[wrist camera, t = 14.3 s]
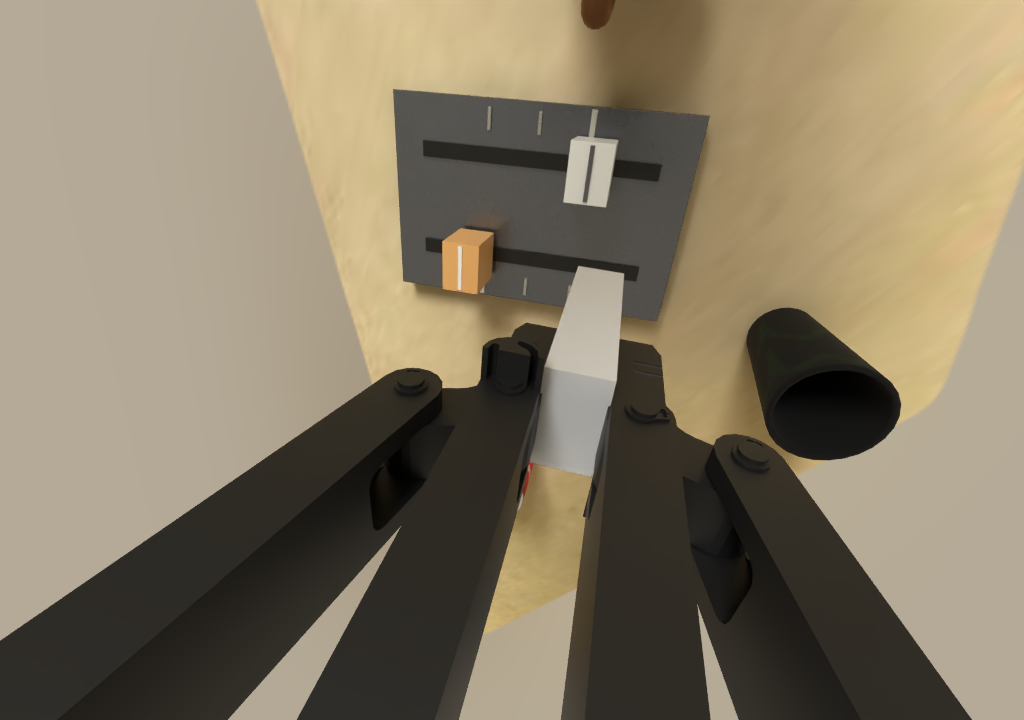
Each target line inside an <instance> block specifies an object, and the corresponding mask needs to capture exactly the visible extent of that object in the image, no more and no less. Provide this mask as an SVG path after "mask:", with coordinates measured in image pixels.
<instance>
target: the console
mask: <svg viewBox="0 0 1024 720" xmlns="http://www.w3.org/2000/svg"><path fill="white" fill-rule="evenodd" d="M393 94H394V113H395V132H396V151H397V170H398V188H399V207H400V226H401V245H402V264H403V281H405V282H411V283H417V284H424V285H430V286H436V287H443V261H442V241H443V240H445V239H446V238H448V237H449V236H450V235H452V234H453V233H455V232H456V231H457V230H459V229H460V228H463V229H470V230H478V231H485V232H492V233H494V241H493V261H492V277H491V279H490V280H489V281H488V282H487V283H486V285H485V286H484V287H483V288H482V289H481V291H480V292H479V293H480V294H487V295H493V296H499V297H506V298H512V299H518V300H524V301H531V302H537V303H543V304H550V305H556V306H562V307H565V304H566V301H567V298H568V295H569V292H570V289H571V286H572V283H573V280H574V277H575V274H576V272H577V269H578V266H582V267H588V268H594V269H600V270H606V271H612V272H618V273H624V282H623V297H622V311H621V316H625V317H631V318H638V319H644V320H650V321H657V319H658V316H659V312H660V308H661V304H662V300H663V296H664V292H665V288H666V284H667V281H668V277H669V273H670V269H671V265H672V261H673V257H674V253H675V249H676V246H677V242H678V238H679V234H680V230H681V226H682V222H683V218H684V215H685V211H686V207H687V203H688V199H689V195H690V191H691V187H692V183H693V180H694V176H695V172H696V168H697V164H698V160H699V156H700V152H701V148H702V145H703V141H704V137H705V133H706V129H707V125H708V121H709V117H710V116H707V115H695V114H683V113H671V112H659V111H648V110H636V109H624V108H612V107H600V106H588V105H576V104H564V103H553V102H541V101H529V100H517V99H505V98H493V97H481V96H470V95H458V94H446V93H434V92H422V91H410V90H396V89H393ZM577 136H583V137H594V138H604V139H615V140H619V141H618V147H617V152H616V158H615V164H614V170H613V176H612V182H611V187H610V193H609V198H608V202H607V205H606V207H598V206H590V205H581V204H573V203H565V202H563V201H564V193H565V185H566V177H567V168H568V160H569V152H570V144H571V140H572V139H574V138H575V137H577Z"/></svg>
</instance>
